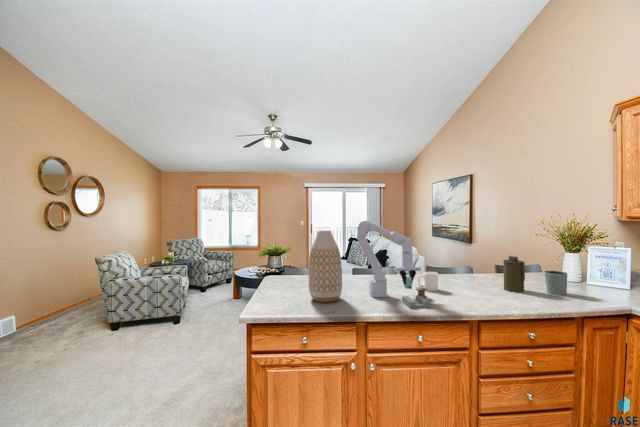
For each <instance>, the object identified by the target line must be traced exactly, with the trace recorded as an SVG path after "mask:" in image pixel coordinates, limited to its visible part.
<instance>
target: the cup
mask: <svg viewBox="0 0 640 427" xmlns="http://www.w3.org/2000/svg"><path fill="white" fill-rule="evenodd" d="M422 278H423V284H421V279H422ZM417 284H418V287H423V288H427V291H428V292H438V290H439V273H438V272H436V271H424V272H423V273H422V274H420V275H418V277H417ZM427 291H426V292H427Z"/></svg>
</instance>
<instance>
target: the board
mask: <svg viewBox="0 0 640 427" xmlns="http://www.w3.org/2000/svg"><path fill="white" fill-rule="evenodd" d="M401 299H402V300H401V303H403V305H404V306H406V307H408V308H409V309H418V308H419V309H420V308H423V309H424V308H431V301H430V300H429V299H428V298H427V299H426V298H424V297H423V296H417V295H415V298H414V299H413V298H411V297H410V296H408V295H406V296H405V295H404V296H402V297H401Z"/></svg>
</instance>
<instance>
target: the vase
mask: <svg viewBox="0 0 640 427" xmlns="http://www.w3.org/2000/svg"><path fill="white" fill-rule="evenodd" d="M315 236H316V237H315V238H314V240H313V242H312V245H311V248H310V251H309V257H308V258H309V259H308V291H309V295H310V296H311V298H312V299H313V300H314V301H316V302H317V303H324V302H326V303H331V302H332V303H333V302H335V301H337V300H339V298H340V297H341V296H342V291H343V276H342V275H343V271H342V270H343V268H342V258H341V253H340V249H339V246H338V243H337V242H336V240H335V237H334V235H333V233H332V230H318V231H317V233H316V235H315Z"/></svg>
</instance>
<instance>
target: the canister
mask: <svg viewBox="0 0 640 427" xmlns="http://www.w3.org/2000/svg"><path fill="white" fill-rule="evenodd" d="M507 258H508V259H504V260H502V262H503V290H504V291H507V292H510V293H519V294H520V293H524V292H525V291H526V290H525V281H526V272H525V271H526V269H525V268H526V265H525V264H526V263H525V261H523V260H520V259H519V258H518V256H513V255H508V257H507Z"/></svg>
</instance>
